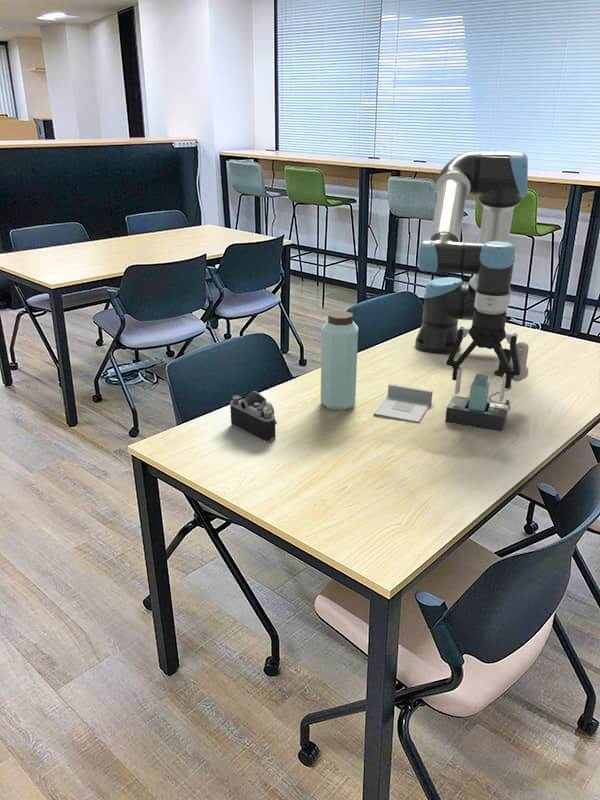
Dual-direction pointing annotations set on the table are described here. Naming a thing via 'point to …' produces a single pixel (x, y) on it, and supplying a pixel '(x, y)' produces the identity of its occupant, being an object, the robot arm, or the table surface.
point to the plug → (479, 393)
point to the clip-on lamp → (522, 355)
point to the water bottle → (339, 361)
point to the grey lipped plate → (405, 403)
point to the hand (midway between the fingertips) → (479, 395)
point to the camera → (254, 416)
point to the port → (477, 414)
